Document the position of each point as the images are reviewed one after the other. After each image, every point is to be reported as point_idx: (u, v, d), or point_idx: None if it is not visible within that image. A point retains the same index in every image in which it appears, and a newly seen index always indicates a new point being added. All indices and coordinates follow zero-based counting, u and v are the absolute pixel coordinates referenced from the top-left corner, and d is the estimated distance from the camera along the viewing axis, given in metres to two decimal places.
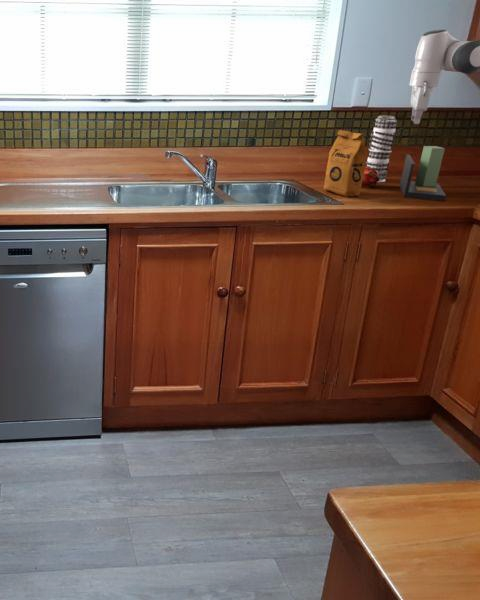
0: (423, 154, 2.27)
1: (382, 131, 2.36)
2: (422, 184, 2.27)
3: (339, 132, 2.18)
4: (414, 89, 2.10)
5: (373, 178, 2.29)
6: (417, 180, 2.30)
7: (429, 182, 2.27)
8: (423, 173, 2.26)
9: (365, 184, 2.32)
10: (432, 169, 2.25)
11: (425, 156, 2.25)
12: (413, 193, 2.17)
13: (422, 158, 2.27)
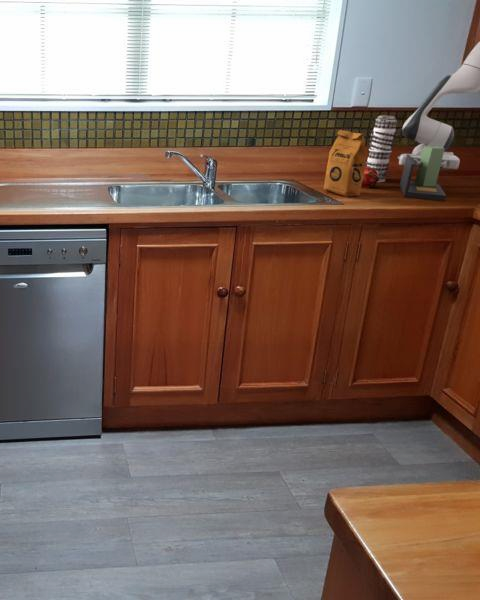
0: (422, 154, 2.27)
1: (382, 131, 2.36)
2: (422, 184, 2.27)
3: (339, 132, 2.18)
4: None
5: (373, 178, 2.29)
6: (417, 180, 2.30)
7: (429, 182, 2.27)
8: (423, 173, 2.26)
9: (365, 184, 2.32)
10: (432, 169, 2.25)
11: (425, 156, 2.25)
12: (413, 193, 2.17)
13: (422, 158, 2.27)
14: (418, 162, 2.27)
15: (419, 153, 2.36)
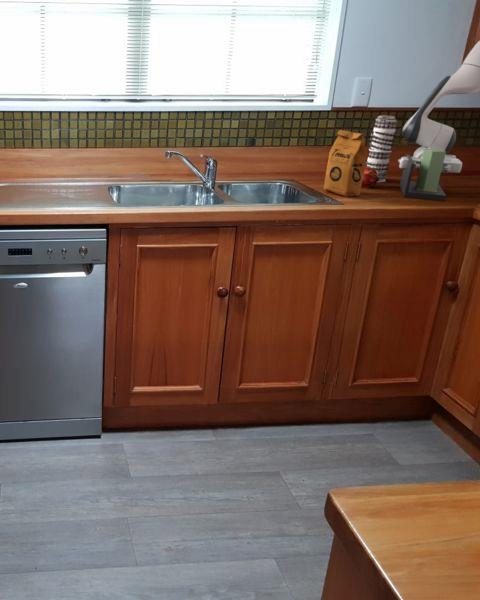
0: (423, 157, 2.19)
1: (382, 131, 2.36)
2: (422, 188, 2.20)
3: (339, 132, 2.18)
4: None
5: (373, 178, 2.29)
6: (417, 184, 2.23)
7: (429, 186, 2.19)
8: (424, 177, 2.19)
9: (365, 184, 2.32)
10: (433, 173, 2.17)
11: (426, 160, 2.18)
12: (413, 193, 2.17)
13: (423, 161, 2.20)
14: (417, 165, 2.20)
15: (420, 156, 2.29)
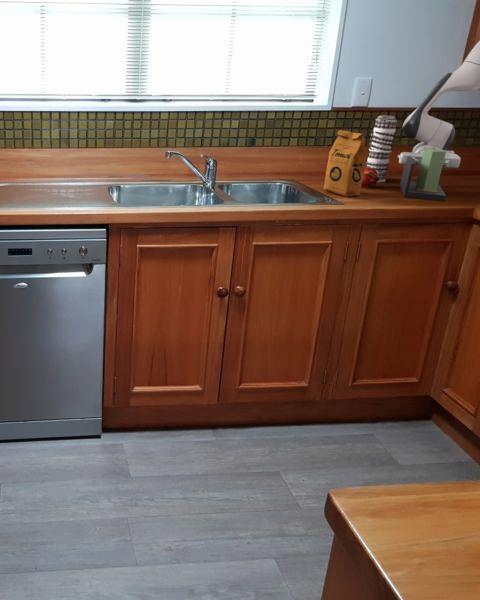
0: (423, 157, 2.19)
1: (382, 131, 2.36)
2: (422, 188, 2.20)
3: (339, 132, 2.18)
4: (420, 165, 2.33)
5: (373, 178, 2.29)
6: (417, 184, 2.23)
7: (429, 186, 2.19)
8: (424, 177, 2.19)
9: (365, 184, 2.32)
10: (433, 173, 2.17)
11: (426, 160, 2.18)
12: (413, 193, 2.17)
13: (423, 161, 2.20)
14: (416, 160, 2.24)
15: (419, 151, 2.33)
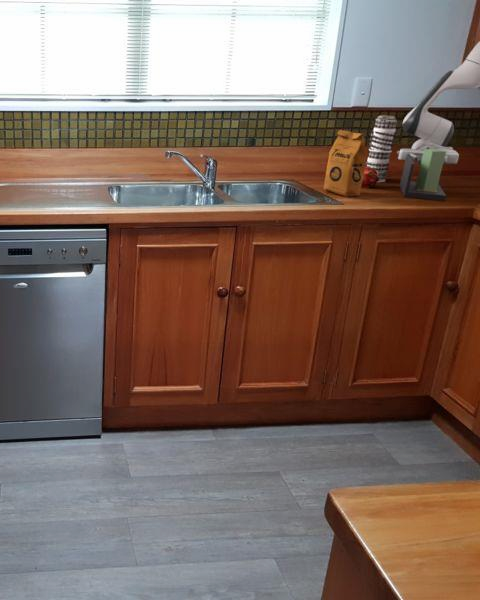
0: (423, 157, 2.19)
1: (382, 131, 2.36)
2: (422, 188, 2.20)
3: (339, 132, 2.18)
4: (420, 161, 2.38)
5: (373, 178, 2.29)
6: (417, 184, 2.23)
7: (429, 186, 2.19)
8: (424, 177, 2.19)
9: (365, 184, 2.32)
10: (433, 173, 2.17)
11: (426, 160, 2.18)
12: (413, 193, 2.17)
13: (423, 161, 2.20)
14: (415, 156, 2.28)
15: (418, 148, 2.37)
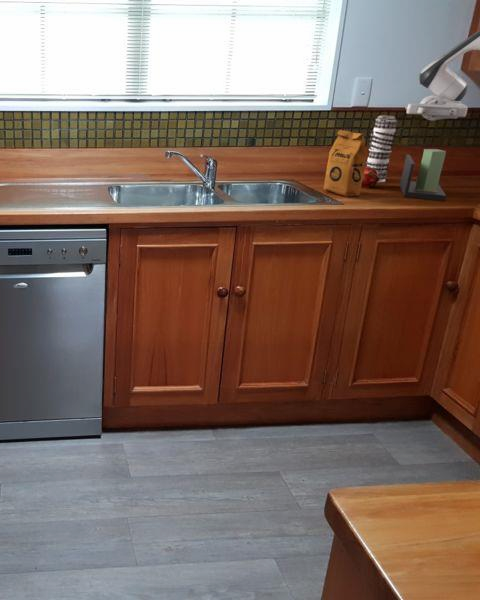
0: (423, 157, 2.19)
1: (382, 131, 2.36)
2: (422, 188, 2.20)
3: (339, 132, 2.18)
4: (428, 115, 2.37)
5: (373, 178, 2.29)
6: (417, 184, 2.23)
7: (429, 186, 2.19)
8: (424, 177, 2.19)
9: (365, 184, 2.32)
10: (433, 173, 2.17)
11: (426, 160, 2.18)
12: (413, 193, 2.17)
13: (423, 161, 2.20)
14: (424, 109, 2.27)
15: (427, 102, 2.36)
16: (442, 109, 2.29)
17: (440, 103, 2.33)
